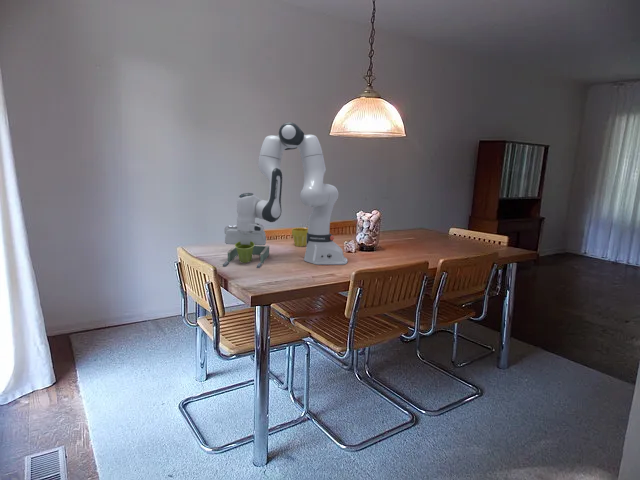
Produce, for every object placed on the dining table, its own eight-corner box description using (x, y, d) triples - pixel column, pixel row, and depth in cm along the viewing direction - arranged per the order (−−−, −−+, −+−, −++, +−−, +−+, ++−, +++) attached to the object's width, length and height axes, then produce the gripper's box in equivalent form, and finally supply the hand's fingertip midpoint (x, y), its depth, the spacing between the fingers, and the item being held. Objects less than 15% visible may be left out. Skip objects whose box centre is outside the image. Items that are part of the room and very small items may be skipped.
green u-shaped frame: (269, 254, 234) (269, 245, 233) (262, 263, 214) (263, 253, 213) (236, 253, 234) (236, 244, 233) (227, 261, 214) (227, 252, 213)
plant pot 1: (252, 265, 211) (251, 249, 207) (233, 264, 212) (232, 248, 208) (257, 257, 219) (256, 241, 216) (239, 255, 220) (238, 239, 217)
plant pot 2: (288, 246, 257) (289, 229, 255) (295, 243, 267) (295, 227, 265) (305, 247, 254) (306, 231, 252) (311, 244, 264) (311, 228, 262)
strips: (261, 265, 211) (261, 263, 211) (259, 268, 205) (259, 266, 205) (225, 263, 211) (225, 261, 211) (222, 266, 205) (222, 264, 205)
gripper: (223, 226, 212) (223, 254, 215) (266, 228, 213) (265, 255, 216) (225, 224, 218) (225, 251, 221) (266, 225, 220) (265, 252, 222)
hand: (245, 253), depth 219 cm, fingers closed, pressing on plant pot 1
